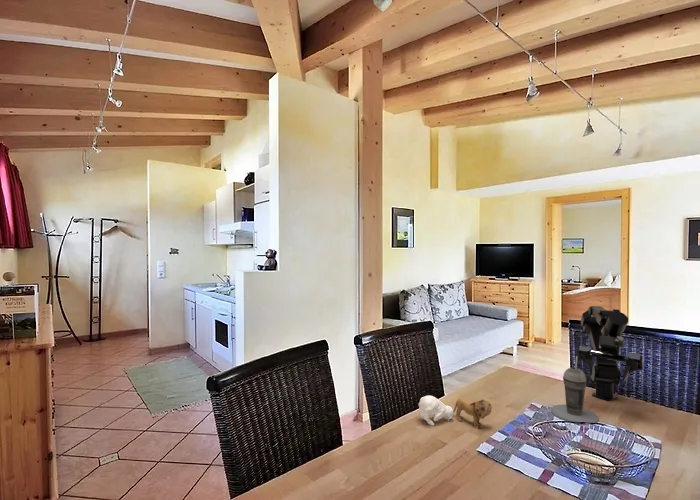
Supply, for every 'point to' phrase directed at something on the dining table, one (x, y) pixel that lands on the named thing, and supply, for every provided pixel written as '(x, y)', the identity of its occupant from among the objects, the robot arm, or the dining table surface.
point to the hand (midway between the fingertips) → (606, 378)
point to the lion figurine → (474, 409)
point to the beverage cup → (574, 389)
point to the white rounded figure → (434, 409)
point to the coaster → (562, 413)
